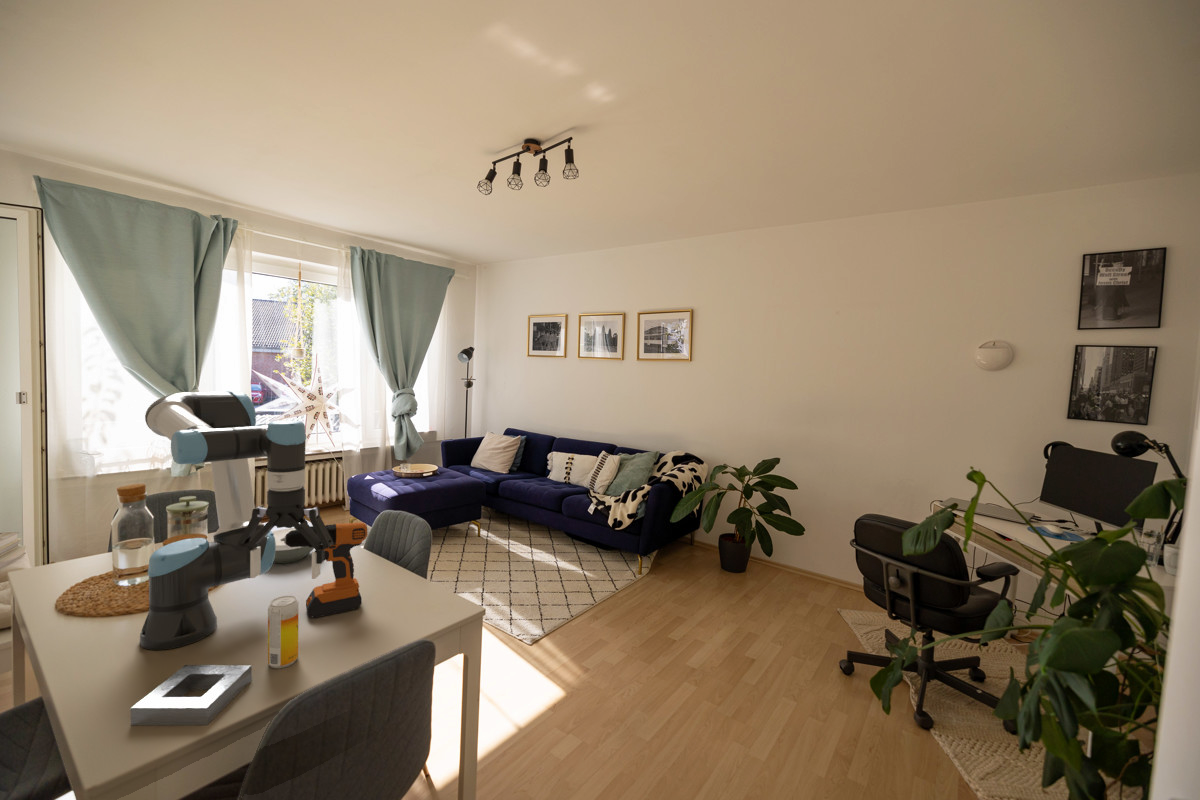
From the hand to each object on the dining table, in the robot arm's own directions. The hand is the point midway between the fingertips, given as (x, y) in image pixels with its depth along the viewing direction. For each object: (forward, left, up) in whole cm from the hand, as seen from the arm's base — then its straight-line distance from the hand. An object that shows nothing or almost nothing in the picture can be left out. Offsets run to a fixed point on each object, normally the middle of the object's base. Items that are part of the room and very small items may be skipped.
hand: (285, 576), depth 119 cm
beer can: (0, -1, -21) cm, 21 cm away
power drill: (-2, +24, -21) cm, 32 cm away
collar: (-10, -15, -21) cm, 27 cm away
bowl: (-32, +62, -21) cm, 73 cm away
